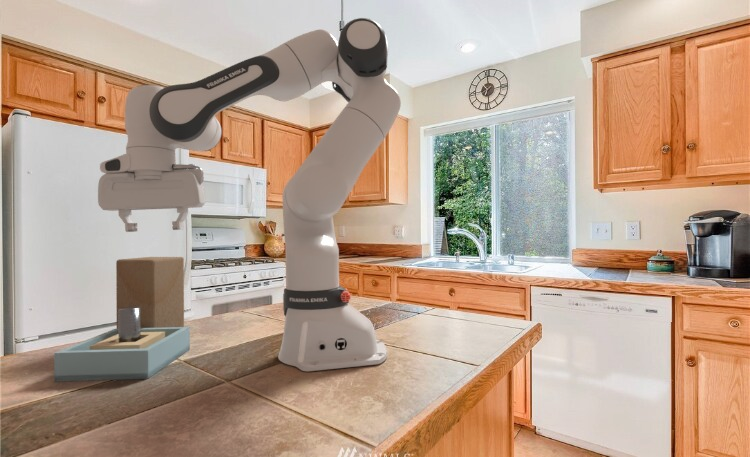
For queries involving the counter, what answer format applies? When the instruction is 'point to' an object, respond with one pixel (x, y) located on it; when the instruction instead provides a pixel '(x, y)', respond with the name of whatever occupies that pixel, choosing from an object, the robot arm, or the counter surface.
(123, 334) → the peg
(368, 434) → the counter surface
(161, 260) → the wooden block
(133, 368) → the bin
